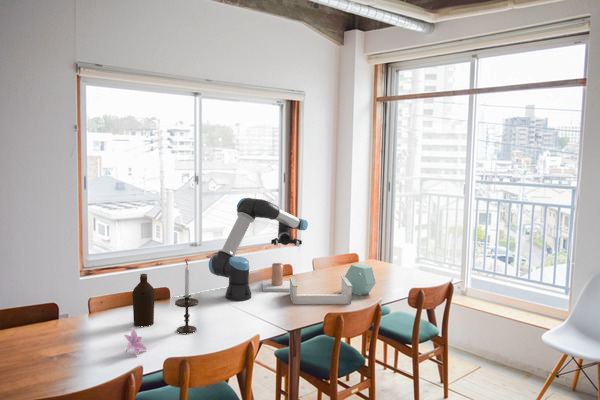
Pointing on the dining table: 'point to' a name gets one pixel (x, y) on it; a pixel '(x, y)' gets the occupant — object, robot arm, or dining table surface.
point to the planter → (361, 278)
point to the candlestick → (186, 305)
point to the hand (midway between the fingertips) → (287, 244)
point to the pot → (277, 274)
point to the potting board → (276, 287)
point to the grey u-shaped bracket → (322, 295)
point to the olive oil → (143, 303)
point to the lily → (135, 342)
